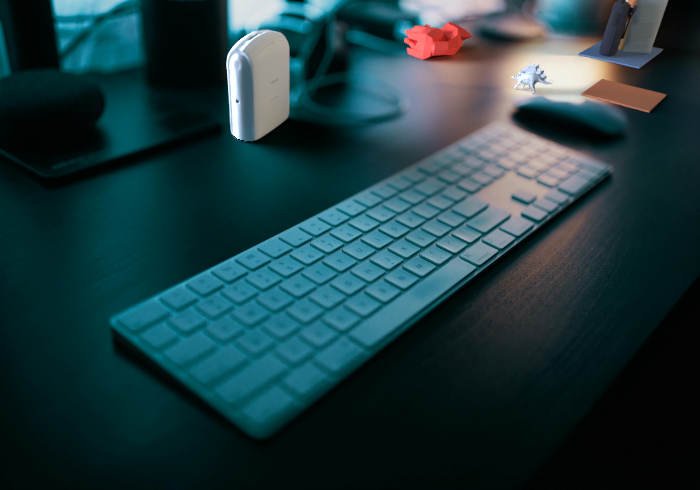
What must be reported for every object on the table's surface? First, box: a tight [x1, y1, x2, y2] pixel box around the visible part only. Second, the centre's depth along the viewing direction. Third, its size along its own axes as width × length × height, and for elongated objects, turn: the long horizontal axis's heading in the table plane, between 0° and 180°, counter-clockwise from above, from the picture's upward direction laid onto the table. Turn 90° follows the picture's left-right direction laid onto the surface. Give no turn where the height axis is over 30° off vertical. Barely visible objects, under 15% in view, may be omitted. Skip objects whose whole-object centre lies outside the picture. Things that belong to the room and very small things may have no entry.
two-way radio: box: [599, 0, 638, 57], centre depth 115 cm, size 6×4×15 cm
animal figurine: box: [404, 21, 473, 60], centre depth 112 cm, size 12×15×5 cm
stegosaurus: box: [511, 63, 554, 94], centre depth 96 cm, size 2×7×5 cm, turn 60°
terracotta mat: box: [580, 78, 667, 114], centre depth 98 cm, size 11×11×1 cm
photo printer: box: [226, 29, 290, 142], centre depth 74 cm, size 10×4×12 cm, turn 157°
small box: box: [618, 0, 669, 53], centre depth 121 cm, size 8×6×13 cm
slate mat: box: [578, 40, 664, 70], centre depth 122 cm, size 12×19×1 cm, turn 143°
